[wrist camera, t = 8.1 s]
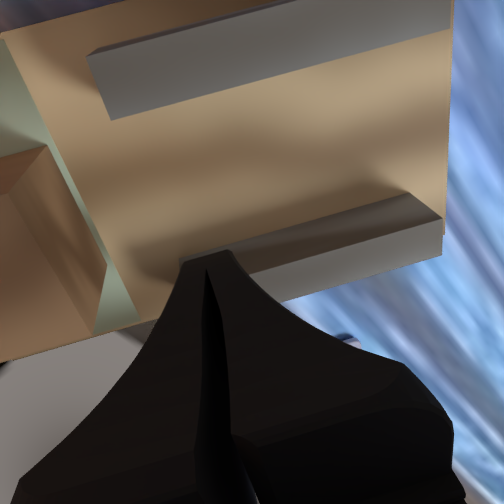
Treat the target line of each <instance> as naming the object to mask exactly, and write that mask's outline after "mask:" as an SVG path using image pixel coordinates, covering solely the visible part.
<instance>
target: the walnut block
mask: <svg viewBox="0 0 504 504" xmlns="http://www.w3.org/2000/svg"><path fill="white" fill-rule="evenodd" d="M106 270H107V263H106V261H105V259H104V257H103V255H102V253H101V251H100V249H99V247H98V245H97V243H96V241H95V239H94V237H93V235H92V233H91V231H90V229H89V227H88V225H87V223H86V221H85V219H84V217H83V215H82V213H81V211H80V209H79V207H78V205H77V203H76V201H75V199H74V197H73V195H72V193H71V191H70V189H69V187H68V185H67V183H66V181H65V179H64V177H63V175H62V173H61V171H60V169H59V167H58V165H57V163H56V161H55V159H54V157H53V155H52V153H51V151H50V149H49V147H48V145H45V146H41V147H37V148H34V149H30V150H26V151H23V152H19V153H15V154H12V155H8V156H4V157H1V158H0V363H1V362H5V361H8V360H11V359H15V358H18V357H22V356H25V355H29V354H32V353H35V352H39V351H42V350H46V349H49V348H53V347H56V346H59V345H63V344H66V343H70V342H73V341H77V340H80V339H83V338H87V337H90V336H92V335H93V330H94V326H95V321H96V316H97V312H98V307H99V302H100V298H101V293H102V288H103V284H104V279H105V274H106Z"/></svg>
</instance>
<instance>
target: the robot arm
mask: <svg viewBox="0 0 504 504" xmlns="http://www.w3.org/2000/svg"><path fill="white" fill-rule="evenodd" d="M453 442H454V430H453V423H452V421H451V420H450V418H449V417H448V415H447V413H446V411H445V410H444V408H443V407H442V405H441V404H440V403H439V401H438V400H437V399H436V398H435V396H434V395H433V394H432V393H431V392H430V391H429V390H428V388H427V387H426V386H425V385H424V384H423V383H422V382H421V381H420V380H419V379H418V378H417V377H416V375H415V374H414V373H413V372H412V371H411V370H410V369H409V368H408V367H407V366H406V365H405V364H403V363H401V362H398V361H395V360H392V359H389V358H386V357H382V356H379V355H376V354H373V353H370V352H367V351H364V350H362V349H361V344H360V342H359V340H358V339H357V338H350V339H347V340H344V341H341V340H339V339H337V338H335V337H333V336H331V335H329V334H327V333H325V332H323V331H321V330H319V329H317V328H315V327H314V326H312V325H310V324H309V323H307V322H306V321H304V320H302V319H301V318H299V317H298V316H296V315H295V314H293V313H292V312H290V311H289V310H288V309H286V308H285V307H284V306H282V305H281V304H280V303H278V302H277V301H276V300H275V299H274V298H272V297H271V296H270V295H269V294H268V293H266V292H265V291H264V290H263V289H262V288H261V287H260V286H259V285H258V284H257V283H256V282H255V281H254V280H253V279H252V278H251V277H250V276H249V275H248V274H247V273H246V271H245V270H244V269H243V268H242V266H241V265H240V264H239V263H238V261H237V260H236V258H235V256H234V255H233V252H232V251H230V250H228V249H226V250H223V251H219V252H216V253H212V254H209V255H205V256H202V257H198V258H195V259H191V260H188V261H184V263H183V264H182V266H181V268H180V271H179V274H178V277H177V279H176V282H175V284H174V287H173V289H172V292H171V294H170V296H169V298H168V300H167V303H166V305H165V307H164V309H163V311H162V313H161V315H160V317H159V319H158V321H157V323H156V324H155V326H154V328H153V330H152V332H151V334H150V336H149V337H148V339H147V341H146V342H145V344H144V345H143V347H142V349H141V350H140V352H139V353H138V355H137V356H136V358H135V359H134V361H133V362H132V364H131V365H130V366H129V368H128V369H127V370H126V372H125V373H124V374H123V375H122V376H121V378H120V379H119V380H118V381H117V382H116V384H115V385H114V386H113V387H112V389H111V390H110V391H109V392H108V394H107V395H106V396H105V397H104V398H103V400H102V401H101V402H100V403H99V404H98V405H97V406H96V407H95V408H94V409H93V410H92V411H91V413H90V414H89V415H88V416H87V417H86V418H85V419H84V420H83V421H82V422H81V423H80V424H79V425H78V426H77V427H76V428H75V429H74V430H73V431H72V432H71V433H70V434H69V435H68V436H67V437H66V438H65V439H64V440H63V441H62V442H61V443H59V445H57V446H56V447H55V448H54V449H53V450H52V451H51V452H49V453H48V454H47V455H46V456H45V457H44V458H43V459H42V460H41V461H40V462H38V463H37V464H36V465H35V466H34V467H33V468H32V469H31V470H30V471H28V472H27V473H26V474H25V475H24V476H23V477H21V478H20V479H19V482H18V485H17V487H16V490H15V493H14V495H13V498H12V501H11V503H10V504H257V499H256V496H257V498H258V500H259V503H260V504H467V503H466V502H465V500H464V498H465V497H466V493H465V490H464V488H463V486H462V484H461V483H460V481H459V480H458V478H457V476H456V475H455V473H454V472H453V470H452V455H453ZM255 493H256V495H255Z"/></svg>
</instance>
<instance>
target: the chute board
mask: <svg viewBox="0 0 504 504" xmlns="http://www.w3.org/2000/svg"><path fill="white" fill-rule="evenodd" d="M453 19H454V0H125V1H121V2H117V3H113V4H109V5H105V6H102V7H98V8H94V9H90V10H86V11H82V12H79V13H75V14H71V15H67V16H63V17H60V18H56V19H52V20H48V21H44V22H40V23H37V24H33V25H29V26H25V27H21V28H18V29H14V30H10V31H6V32H2V33H0V158H1V157H4V156H8V155H12V154H15V153H19V152H23V151H26V150H30V149H34V148H37V147H41V146H45V145H48V147H49V149H50V151H51V153H52V155H53V157H54V159H55V161H56V163H57V165H58V167H59V169H60V171H61V173H62V175H63V177H64V179H65V181H66V183H67V185H68V187H69V189H70V191H71V193H72V195H73V197H74V199H75V201H76V203H77V205H78V207H79V209H80V211H81V213H82V215H83V217H84V219H85V221H86V223H87V225H88V227H89V229H90V231H91V233H92V235H93V237H94V239H95V241H96V243H97V245H98V247H99V249H100V251H101V253H102V255H103V257H104V259H105V261H106V263H107V270H106V274H105V279H104V284H103V288H102V293H101V298H100V302H99V307H98V312H97V316H96V321H95V326H94V330H93V335H92V336H90V337H87V338H83V339H80V340H77V341H73V342H70V343H66V344H63V345H59V346H56V347H53V348H49V349H46V350H42V351H39V352H35V353H32V354H29V355H25V356H22V357H18V358H15V359H12V360H13V361H14V360H17V359H21V358H24V357H28V356H31V355H34V354H38V353H41V352H45V351H48V350H51V349H55V348H58V347H62V346H65V345H69V344H72V343H76V342H79V341H82V340H86V339H89V338H92V337H96V336H99V335H103V334H106V333H110V332H113V331H117V330H120V329H124V328H127V327H130V326H134V325H137V324H141V323H144V322H147V321H151V320H154V319H158V318H159V317H160V315H161V313H162V311H163V309H164V307H165V305H166V303H167V300H168V298H169V296H170V294H171V292H172V289H173V287H174V284H175V282H176V279H177V277H178V274H179V271H180V268H181V266H182V264H183V263H184V261H188V260H191V259H195V258H198V257H202V256H205V255H209V254H212V253H216V252H219V251H223V250H226V249H228V250H230V251H232V252H233V255H234V256H235V258H236V260H237V261H238V263H239V264H240V265H241V266H242V268H243V269H244V270H245V271H246V273H247V274H248V275H249V276H250V277H251V278H252V279H253V280H254V281H255V282H256V283H257V284H258V285H259V286H260V287H261V288H262V289H263V290H264V291H265V292H266V293H268V294H269V295H270V296H271V297H272V298H274V299H275V300H276V301H277V302H278V303H281V302H284V301H288V300H291V299H295V298H298V297H301V296H305V295H308V294H312V293H315V292H318V291H322V290H325V289H329V288H332V287H335V286H339V285H342V284H346V283H349V282H352V281H356V280H359V279H363V278H366V277H369V276H373V275H376V274H380V273H383V272H386V271H390V270H393V269H397V268H400V267H403V266H407V265H410V264H414V263H417V262H420V261H424V260H427V259H431V258H434V257H438V256H441V255H442V238H443V235H445V217H446V192H447V167H448V142H449V118H450V93H451V68H452V43H453Z"/></svg>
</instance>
